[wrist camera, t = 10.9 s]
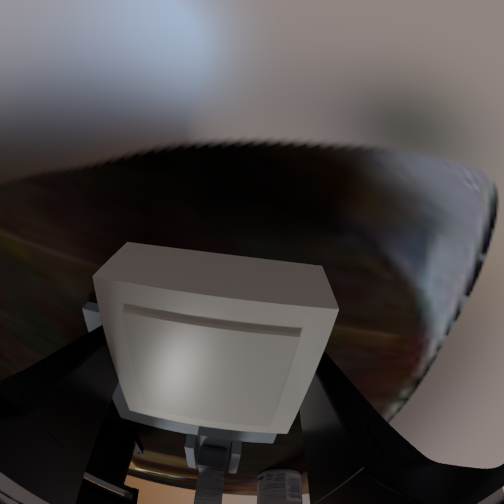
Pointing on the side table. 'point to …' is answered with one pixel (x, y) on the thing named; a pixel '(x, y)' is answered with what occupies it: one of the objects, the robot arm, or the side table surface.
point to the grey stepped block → (210, 475)
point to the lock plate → (204, 434)
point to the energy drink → (279, 487)
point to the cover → (214, 334)
